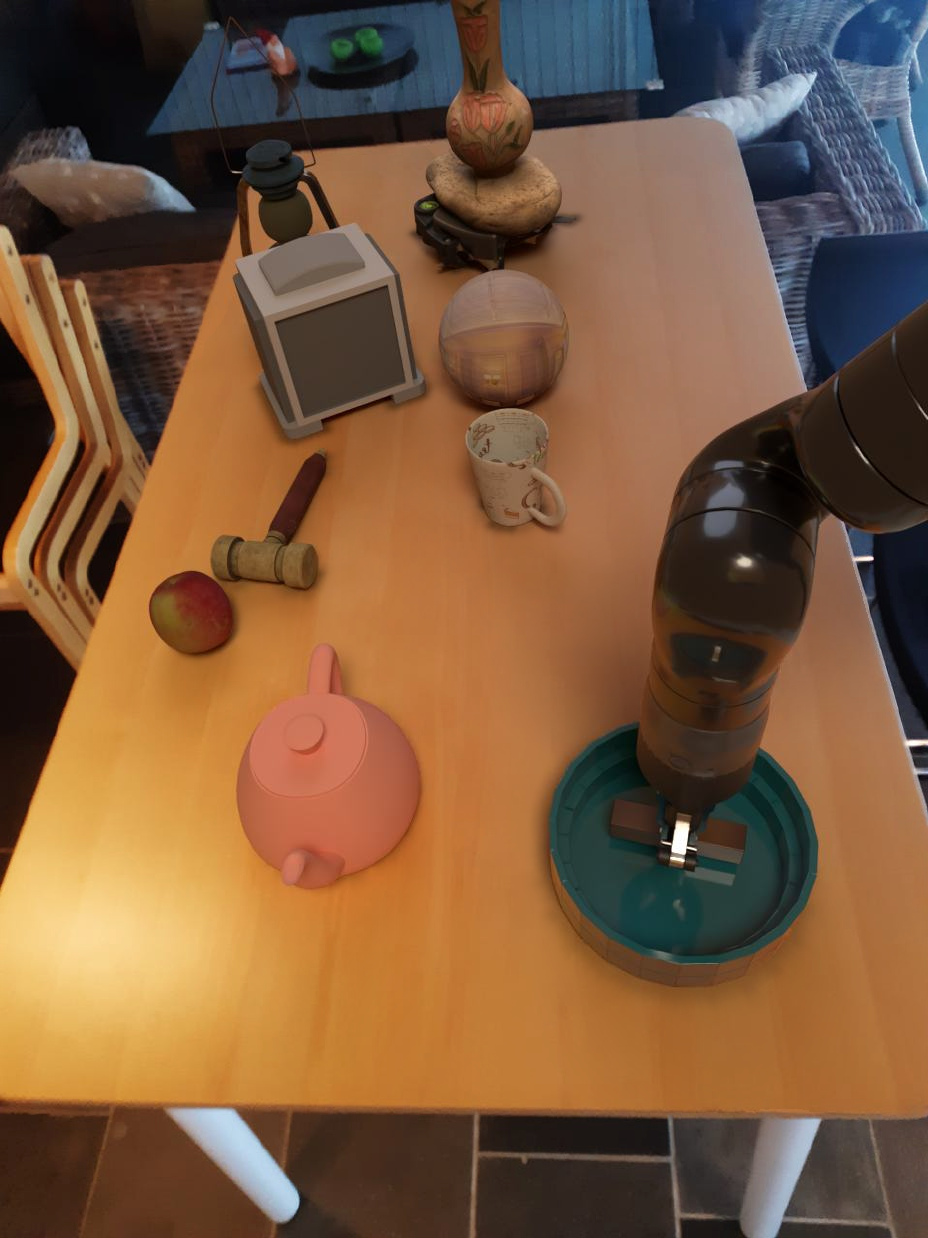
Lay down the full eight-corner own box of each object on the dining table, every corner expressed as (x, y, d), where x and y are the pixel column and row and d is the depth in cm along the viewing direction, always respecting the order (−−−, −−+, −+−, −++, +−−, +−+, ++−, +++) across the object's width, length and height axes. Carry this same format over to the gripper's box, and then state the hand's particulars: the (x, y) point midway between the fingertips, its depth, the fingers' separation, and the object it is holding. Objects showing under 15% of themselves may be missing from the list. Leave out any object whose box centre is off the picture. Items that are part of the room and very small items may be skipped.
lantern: (361, 273, 127) (302, -11, 100) (353, 320, 120) (287, 29, 93) (266, 281, 129) (181, 3, 101) (252, 328, 121) (157, 43, 94)
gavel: (279, 430, 102) (360, 436, 100) (288, 461, 105) (367, 468, 103) (204, 556, 89) (296, 566, 87) (217, 587, 92) (306, 597, 90)
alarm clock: (392, 338, 117) (366, 202, 102) (428, 392, 109) (406, 253, 94) (260, 382, 114) (214, 249, 99) (288, 442, 106) (242, 306, 91)
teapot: (421, 939, 68) (395, 878, 58) (231, 947, 69) (174, 889, 59) (426, 697, 81) (405, 616, 72) (266, 708, 82) (225, 629, 73)
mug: (513, 469, 99) (507, 397, 91) (596, 523, 92) (598, 450, 85) (458, 508, 96) (448, 437, 88) (541, 567, 90) (537, 496, 82)
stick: (742, 838, 68) (747, 824, 66) (740, 864, 67) (744, 852, 65) (614, 811, 71) (614, 798, 69) (609, 836, 69) (610, 823, 68)
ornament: (592, 376, 107) (594, 262, 96) (524, 448, 101) (517, 335, 89) (492, 342, 114) (482, 231, 102) (422, 408, 107) (402, 297, 95)
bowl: (806, 778, 72) (822, 742, 68) (794, 1020, 62) (812, 996, 57) (576, 735, 77) (576, 699, 72) (526, 953, 66) (523, 926, 61)
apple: (242, 599, 91) (217, 547, 85) (243, 661, 86) (216, 610, 80) (169, 613, 91) (139, 562, 85) (166, 677, 86) (133, 627, 80)
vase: (393, 279, 125) (342, -8, 98) (431, 200, 138) (395, -73, 111) (557, 285, 120) (552, -17, 93) (580, 202, 133) (581, -84, 106)
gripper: (753, 835, 50) (716, 935, 64) (771, 643, 58) (734, 768, 72) (622, 807, 52) (613, 910, 66) (656, 625, 60) (641, 750, 74)
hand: (676, 835), depth 69 cm, fingers closed on stick, 2 cm apart
